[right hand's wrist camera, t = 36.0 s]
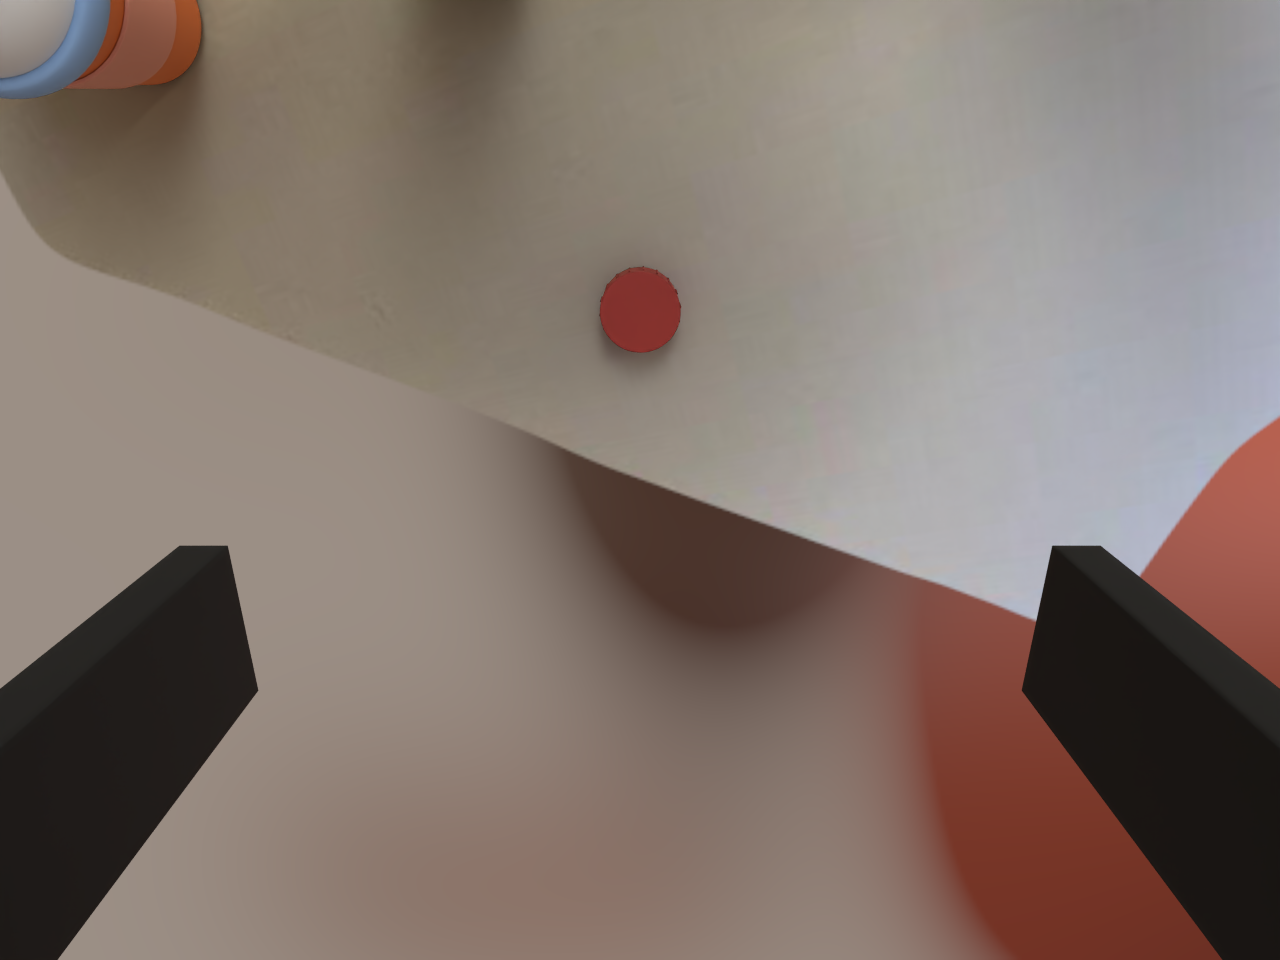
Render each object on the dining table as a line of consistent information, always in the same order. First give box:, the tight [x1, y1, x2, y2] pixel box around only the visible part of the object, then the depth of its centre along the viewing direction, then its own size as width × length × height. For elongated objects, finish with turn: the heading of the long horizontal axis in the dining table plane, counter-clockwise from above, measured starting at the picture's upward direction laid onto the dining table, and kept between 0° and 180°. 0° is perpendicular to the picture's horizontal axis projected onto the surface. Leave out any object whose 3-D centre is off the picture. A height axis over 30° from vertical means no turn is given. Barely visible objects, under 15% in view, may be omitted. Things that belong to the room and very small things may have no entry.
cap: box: [600, 266, 681, 352], centre depth 43 cm, size 4×4×2 cm
